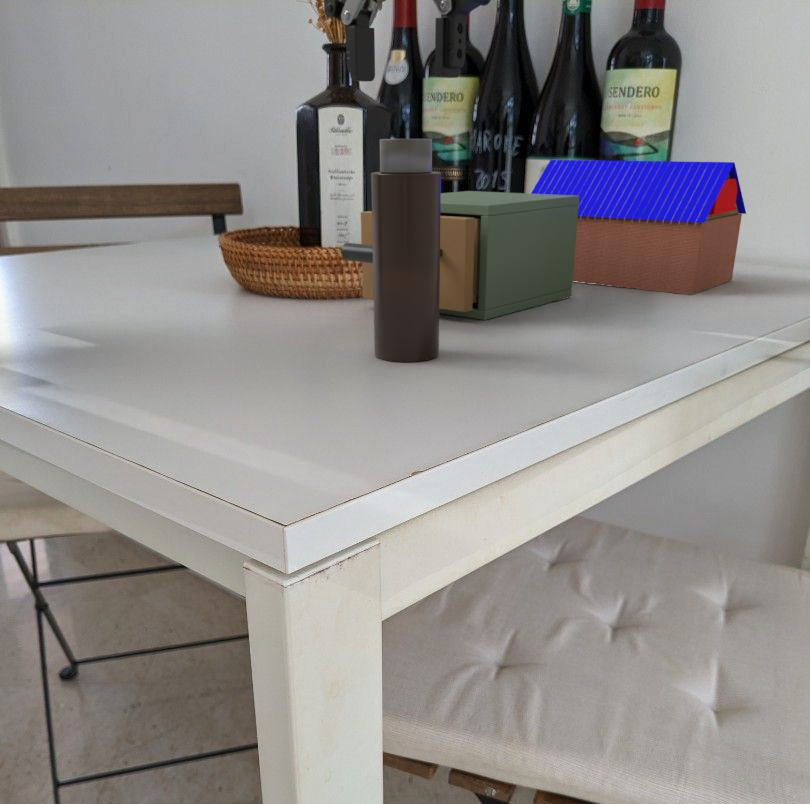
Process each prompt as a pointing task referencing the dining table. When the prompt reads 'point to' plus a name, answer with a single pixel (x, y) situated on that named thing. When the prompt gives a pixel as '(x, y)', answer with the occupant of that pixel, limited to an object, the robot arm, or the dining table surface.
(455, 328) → the dining table surface
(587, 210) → the house
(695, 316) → the dining table surface
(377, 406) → the dining table surface
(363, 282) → the drawer
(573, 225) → the cabinet
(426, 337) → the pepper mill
